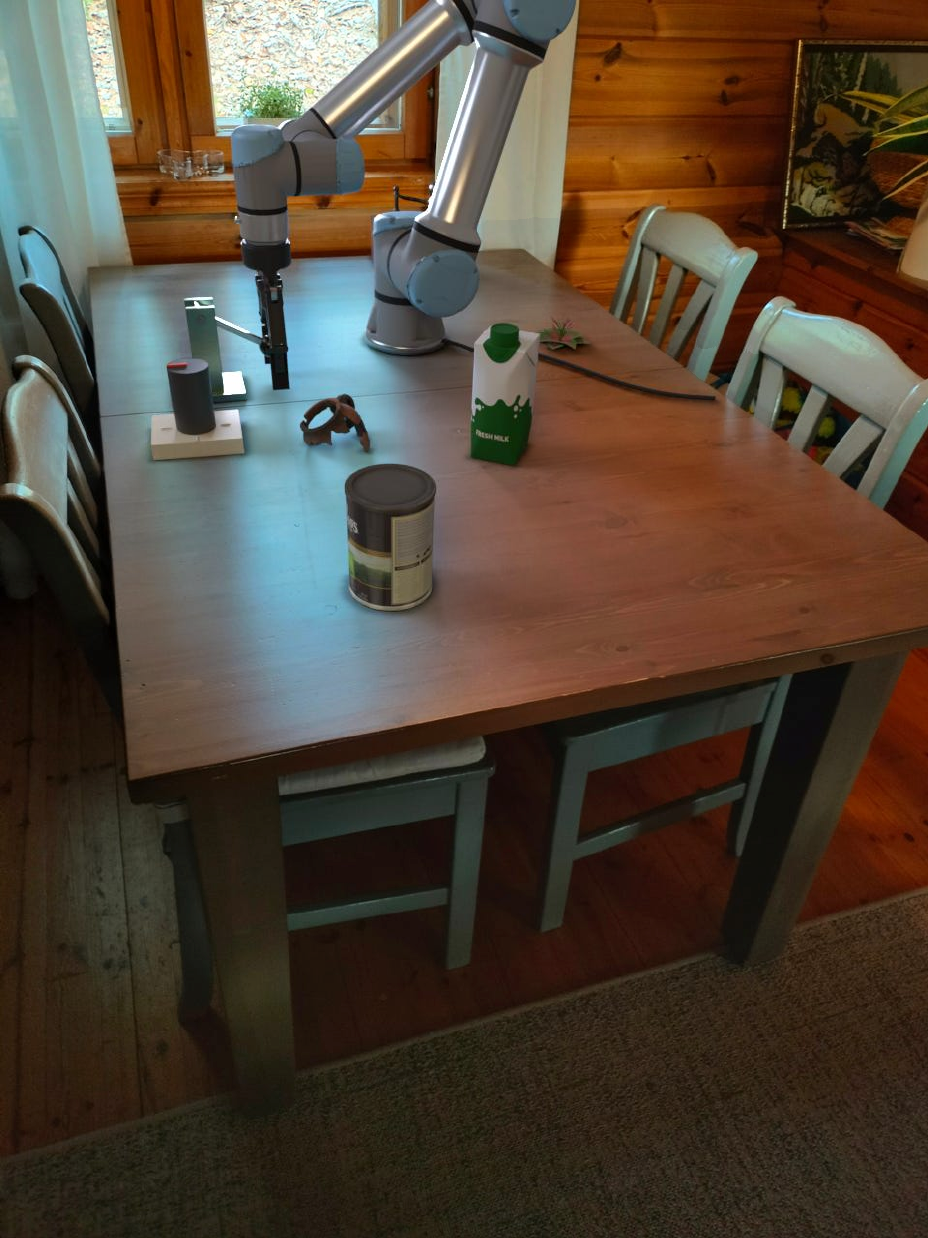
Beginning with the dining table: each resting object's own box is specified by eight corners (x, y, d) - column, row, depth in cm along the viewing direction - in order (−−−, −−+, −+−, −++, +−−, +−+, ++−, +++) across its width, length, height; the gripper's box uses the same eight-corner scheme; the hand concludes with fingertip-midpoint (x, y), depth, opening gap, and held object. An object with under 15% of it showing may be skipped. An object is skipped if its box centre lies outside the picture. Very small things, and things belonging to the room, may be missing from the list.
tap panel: (240, 424, 144) (238, 408, 142) (244, 453, 136) (242, 437, 134) (154, 430, 141) (151, 414, 139) (153, 460, 133) (150, 443, 131)
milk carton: (463, 458, 138) (469, 328, 125) (481, 434, 144) (489, 308, 132) (518, 470, 136) (530, 338, 123) (534, 444, 142) (547, 317, 130)
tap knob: (215, 416, 140) (207, 354, 134) (216, 433, 135) (208, 370, 129) (176, 419, 138) (166, 356, 132) (176, 436, 134) (166, 372, 128)
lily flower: (602, 348, 176) (605, 325, 173) (548, 356, 171) (551, 332, 169) (569, 327, 184) (572, 304, 181) (518, 334, 180) (519, 311, 177)
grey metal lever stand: (241, 378, 157) (231, 291, 148) (246, 399, 151) (237, 310, 142) (175, 382, 155) (161, 295, 146) (177, 405, 148) (163, 314, 139)
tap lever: (274, 355, 154) (283, 336, 152) (277, 363, 151) (286, 344, 150) (187, 316, 146) (195, 296, 145) (188, 324, 143) (197, 303, 142)
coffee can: (347, 613, 106) (343, 508, 98) (349, 563, 114) (345, 462, 106) (435, 611, 107) (439, 508, 99) (431, 562, 115) (433, 462, 107)
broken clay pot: (370, 464, 136) (341, 424, 130) (317, 481, 140) (287, 443, 134) (381, 411, 143) (354, 371, 138) (331, 429, 147) (302, 390, 141)
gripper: (233, 219, 148) (247, 351, 162) (248, 262, 131) (262, 405, 145) (280, 218, 150) (289, 348, 164) (300, 260, 133) (309, 401, 147)
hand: (276, 375), depth 154 cm, fingers open, 10 cm apart
